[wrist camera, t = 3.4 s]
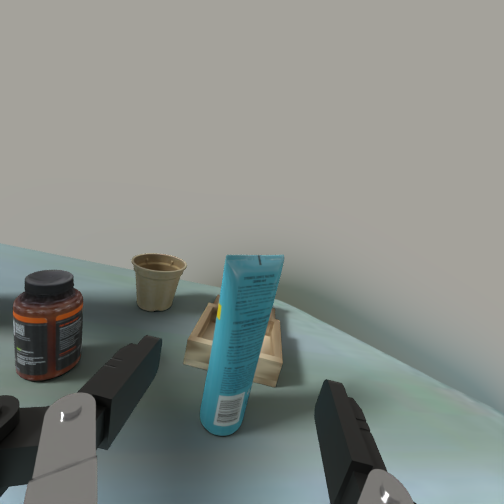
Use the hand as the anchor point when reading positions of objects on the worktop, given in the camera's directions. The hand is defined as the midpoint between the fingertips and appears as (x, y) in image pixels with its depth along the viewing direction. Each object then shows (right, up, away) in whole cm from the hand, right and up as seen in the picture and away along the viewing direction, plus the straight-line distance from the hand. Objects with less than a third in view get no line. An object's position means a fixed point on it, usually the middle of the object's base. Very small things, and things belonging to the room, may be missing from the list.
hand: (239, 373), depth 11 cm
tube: (-3, -13, +15) cm, 20 cm away
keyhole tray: (-2, -9, +31) cm, 32 cm away
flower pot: (-18, -4, +34) cm, 39 cm away
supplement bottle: (-23, -8, +17) cm, 30 cm away
